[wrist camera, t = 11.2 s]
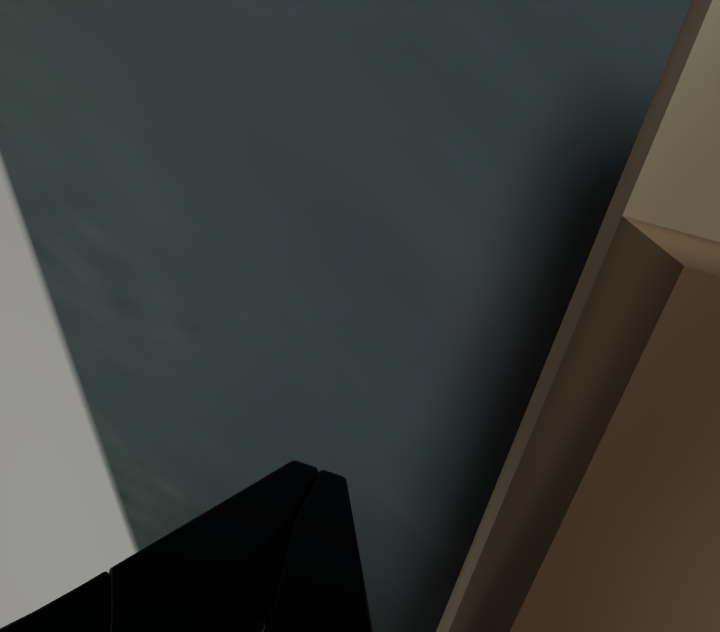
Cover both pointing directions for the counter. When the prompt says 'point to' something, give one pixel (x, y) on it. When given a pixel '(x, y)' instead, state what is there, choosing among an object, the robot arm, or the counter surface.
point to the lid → (624, 402)
